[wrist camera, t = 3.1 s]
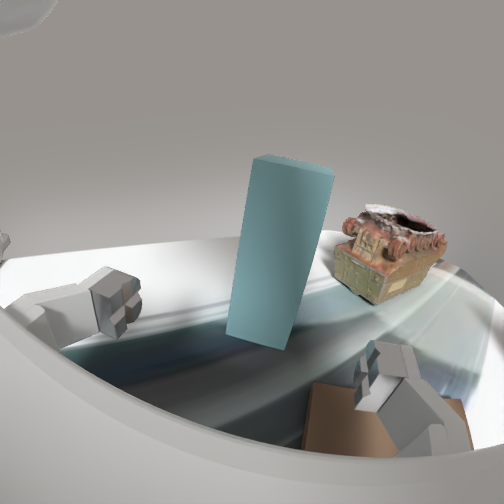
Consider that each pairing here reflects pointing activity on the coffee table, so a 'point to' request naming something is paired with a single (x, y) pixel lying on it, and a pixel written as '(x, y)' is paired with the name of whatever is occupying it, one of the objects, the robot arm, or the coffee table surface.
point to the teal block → (276, 247)
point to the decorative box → (386, 252)
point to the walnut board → (350, 425)
